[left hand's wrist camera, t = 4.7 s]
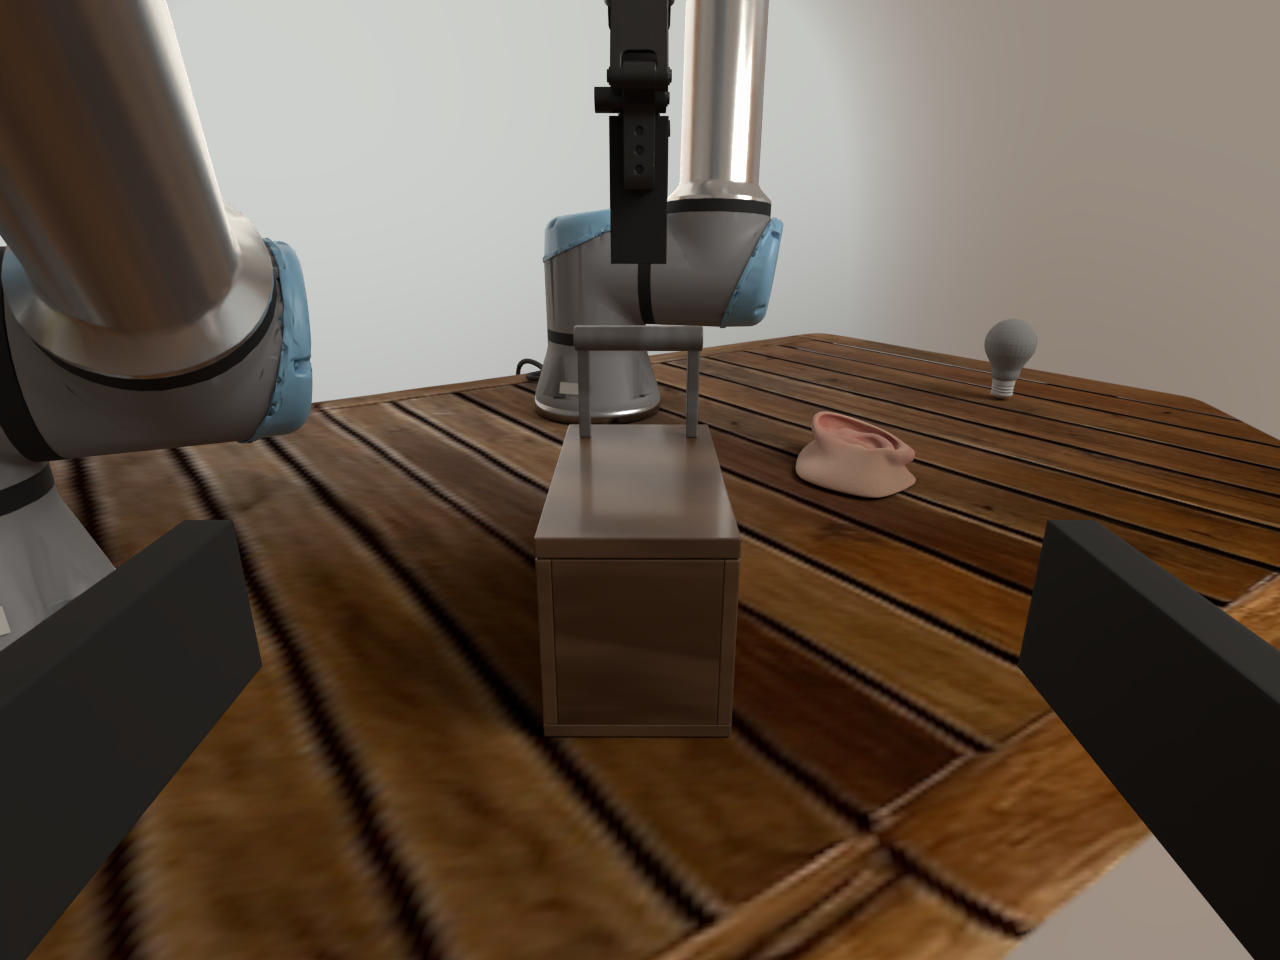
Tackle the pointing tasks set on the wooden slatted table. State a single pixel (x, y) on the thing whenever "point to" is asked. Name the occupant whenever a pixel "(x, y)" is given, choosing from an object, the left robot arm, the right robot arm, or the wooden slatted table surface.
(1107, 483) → the wooden slatted table surface
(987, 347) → the light bulb
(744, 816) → the wooden slatted table surface
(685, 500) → the lid
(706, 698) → the chest
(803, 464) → the anatomical model
